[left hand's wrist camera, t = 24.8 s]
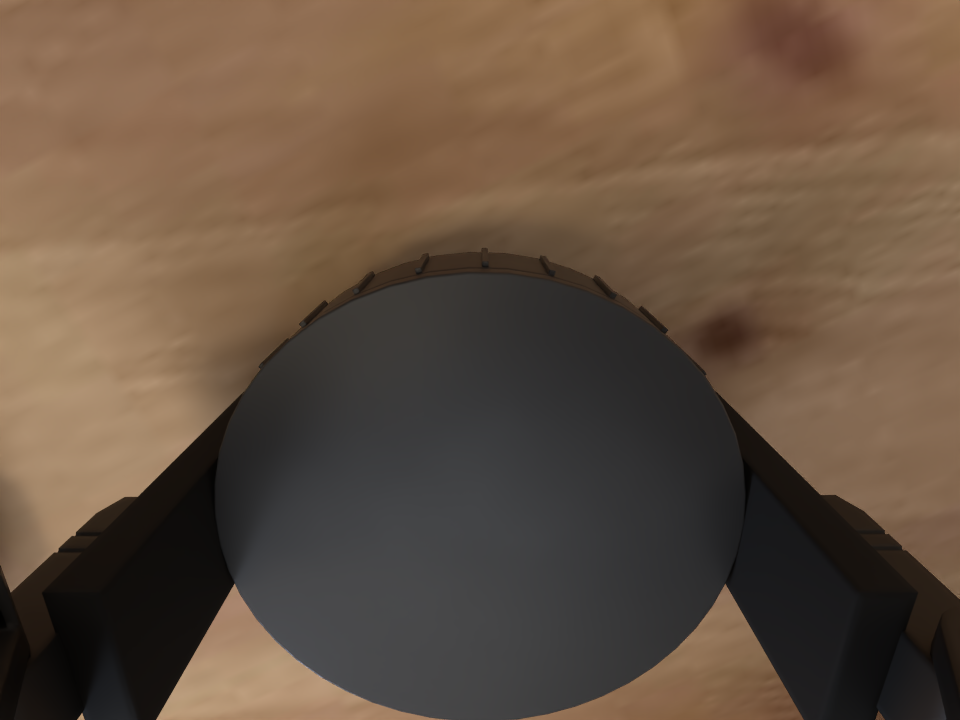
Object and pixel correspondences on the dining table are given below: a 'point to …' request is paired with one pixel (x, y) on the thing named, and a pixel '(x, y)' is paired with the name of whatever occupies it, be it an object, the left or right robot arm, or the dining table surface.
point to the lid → (479, 489)
